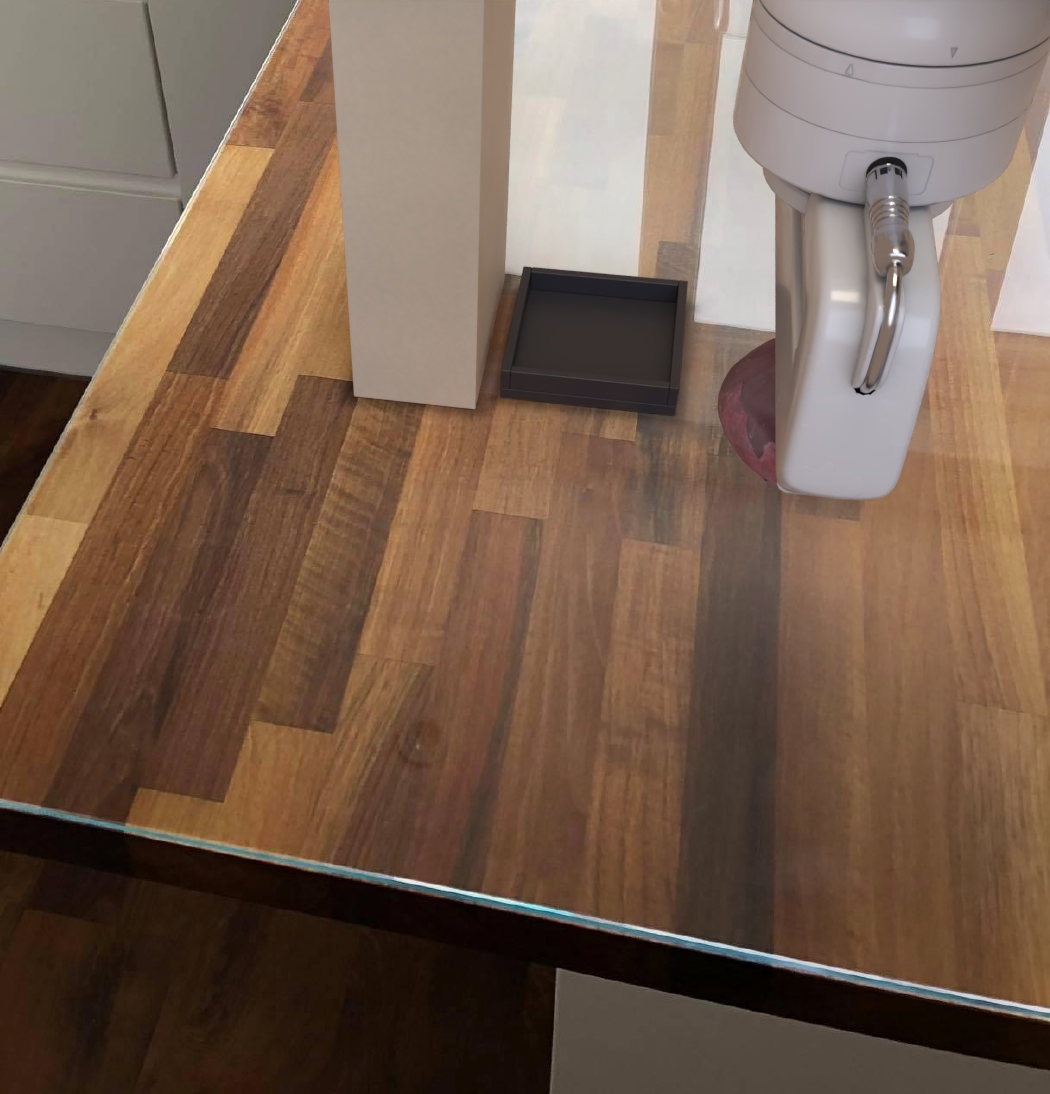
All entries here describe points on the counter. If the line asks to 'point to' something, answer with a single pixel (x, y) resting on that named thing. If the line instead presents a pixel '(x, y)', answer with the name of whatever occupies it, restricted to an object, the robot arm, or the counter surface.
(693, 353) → the counter surface
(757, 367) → the vegetable
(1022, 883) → the counter surface
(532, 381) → the pan
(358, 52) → the column
